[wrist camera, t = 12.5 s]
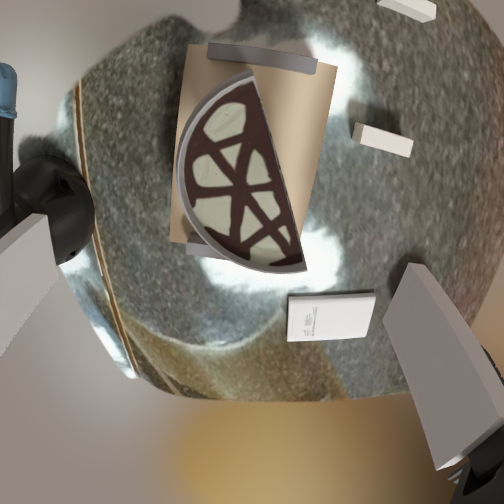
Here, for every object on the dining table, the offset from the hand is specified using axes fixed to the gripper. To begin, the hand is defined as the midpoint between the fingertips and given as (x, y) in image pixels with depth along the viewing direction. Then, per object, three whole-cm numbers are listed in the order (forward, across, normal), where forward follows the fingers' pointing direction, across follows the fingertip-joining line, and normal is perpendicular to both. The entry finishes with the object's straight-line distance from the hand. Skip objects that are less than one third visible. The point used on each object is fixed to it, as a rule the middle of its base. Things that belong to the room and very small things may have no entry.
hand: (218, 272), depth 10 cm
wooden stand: (+25, 0, 0) cm, 25 cm away
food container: (+17, 0, 0) cm, 17 cm away
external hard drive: (+26, -15, +22) cm, 37 cm away
